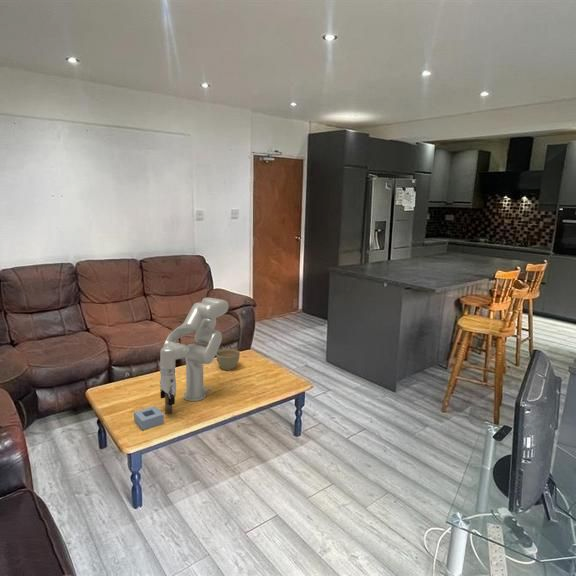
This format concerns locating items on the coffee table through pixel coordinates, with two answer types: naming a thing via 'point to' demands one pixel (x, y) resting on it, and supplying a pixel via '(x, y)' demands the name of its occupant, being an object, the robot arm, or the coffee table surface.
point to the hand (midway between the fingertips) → (167, 401)
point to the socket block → (148, 417)
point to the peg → (167, 408)
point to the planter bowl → (227, 358)
